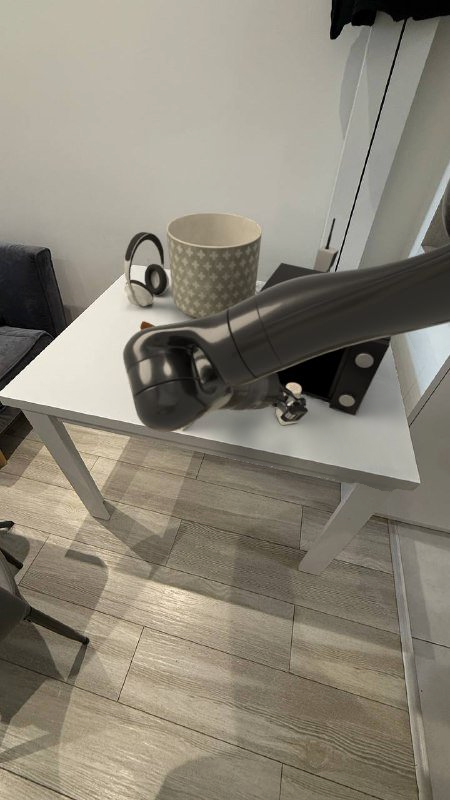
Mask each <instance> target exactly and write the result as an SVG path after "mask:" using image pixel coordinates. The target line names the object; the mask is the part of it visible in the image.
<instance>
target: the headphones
mask: <svg viewBox="0 0 450 800" xmlns="http://www.w3.org/2000/svg"><path fill="white" fill-rule="evenodd" d="M145 241H151V242H152V243H153V244H154V246H155V247H156V249H157V251H158V255H159V256H160V257H159V258H160V264H157V263H151V264H149V265H148V266H147V267H146V268H145V270H144V282H142V281H139V280H137V279H132V278H131V271H132V270H131V269H132V264H133V260H134V257H135V254H136V253H137V250H138V248H139V247H140V245H141V244H142V243H144V242H145ZM123 271H124V276H125V281H126V282H125V285H124V287H123V288H124V292H125V294H126V298H127V300H128V301H129V302H130V303H131V304H133V305H135V306H138V307H140V306H141V307H147V306H148V305H149V306H150V305H152V304H153V302H154V296H162V295H163V294H165V293H166V291H167V290H168V287H169V284H170V277H169V275H168V274H167V270H166V269H165V254H164V248H163V244H162V242H161V240H160V239H159V237H158V236H157V235H156V234H154V233H152V232H148V231H141V232H138V233H136V234H134V235H133V236H132V238H131V239H130V240H129V242H128V244H127V246H126V250H125V253H124V261H123Z"/></svg>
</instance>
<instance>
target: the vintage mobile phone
mask: <svg viewBox="0 0 450 800" xmlns="http://www.w3.org/2000/svg"><path fill="white" fill-rule="evenodd" d="M335 223H336V218H335V217H333V219H332V223H331V226H330V231H329V235H328V236H327V241H326V245H323V246H321V247H320V248H318V249H317V253H316V257H315V261H314V266H313V270H317V271H322V272H326V273H329V272H331V269H332V267H334V265H335V262H336V259H337V256H338V254H339V251H340V250H339V249H337V248H335V247H331V246H330V244H331V240H332V234H333V231H334V227H335Z"/></svg>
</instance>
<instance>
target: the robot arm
mask: <svg viewBox="0 0 450 800" xmlns="http://www.w3.org/2000/svg"><path fill="white" fill-rule="evenodd" d="M444 189H445V190H444V193H443V198H442V207H441V217H442V218H441V219H442V224H443V227H444V230H445V231H444V232H445V233H446V236H447V238H448V240H449V241H450V177H449V178H448V180H447V183H446V186H445V188H444ZM258 292H259V291H258ZM258 292H257V293H255V295H253V296H251V297H249V298H247V299H245V300H243V301H241V302H239V303H237V304H235V305H233V306H231V307H230V308H227V309H225V310H223V311H221V312H219V313H216V314H213V315H209V316H205V317H201V318H197V317H196V318H194V319H189V320H185V321H180V322H174V323H168V324H161V325H154V327H150V328H146V329H143V330H141V329H140V330H139V331H136V333H134V334H133V335H132V336H131V337H130V338H129V339H128V340H127V342H126V344H125V346H124V348H123V351H122V362H123V365H124V369H125V373H126V377H127V380H128V386H129V388H130V392H131V397H132V398H133V399H132V400H133V404H134V408H135V412H136V415H137V418H138V420H139V421H140V422H141V424H143V426H145V427H146V428H148V429H149V430H152V431H155V432H157V433H158V432H159V433H171V432H174V431H178V430H181V429H180V428H183V427H185V426H187V425H189V424H191V423H192V422H193V423H194V422H196V421H198V420H199V419H200V418H202V417H203V416H205V415H206V414H208V413H210V412H215V411H227V410H229V411H236V412H238V411H252V410H262V409H265V408H268V407H272V408H276V409H277V408H278V409H280V410H281V411H282V415H281V416H280V417H281V419H282V420H283V421H284V422H296V421H297V422H299V421H300V420H301V419H302V418H303V417H304V416H306V415H307V413H309V410H308V408H307V407H306V406H307V403H306V402H307V399H306V398H304V397H300V398H296V397H295V396H294V395H293V393H292V391H290V390H289V389H287V388H286V387H284V386H283V385H282V384H281V382H279V377H278V374H277V372H279V371H281V370H284V369H286V368H289V367H291V366H294V365H296V364H299V363H301V362H304V361H306V360H309V359H312V358H315V357H318V356H320V355H323V354H326V353H329V352H332V351H335V350H339V349H342V348H345V347H349V346H352V345H356V344H360V343H363V342H368V341H372V340H376V339H380V338H385V337H389V336H391V337H394V336H399V335H402V334H406V333H411V332H416V331H418V330H419V331H420V330H424V329H428V328H433V327H437V326H441V325H445V324H449V323H450V242H448V243H445V244H443V245H441V246H438V247H436V248H433V249H431V250H428V251H425V252H423V253H420V254H417V255H413V256H411V257H408V258H404V259H401V260H396V261H392V262H388V263H384V264H379V265H373V266H368V267H362V268H355V269H354V268H353V269H347V270H338V271H330V272H329V273H321V274H313V275H307V276H303V277H298V278H294V279H291V280H287V281H285V282H282V283H279V284H276V285H274V286H272V287H269V288H267V289H265V290H263V291H261V292H259V293H258ZM198 351H202V352H203V353H204V354H201V355H199V356H197V357H195V358H194V354H195V353H196V352H198ZM284 393H285V394H286V395H285V396H284ZM290 401H293V403H292V404H291V405H290V406H288V405H287V404H288V403H289V402H290ZM297 422H296V423H297ZM193 423H192V424H193ZM192 424H191V425H192ZM189 426H190V425H189Z"/></svg>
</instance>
